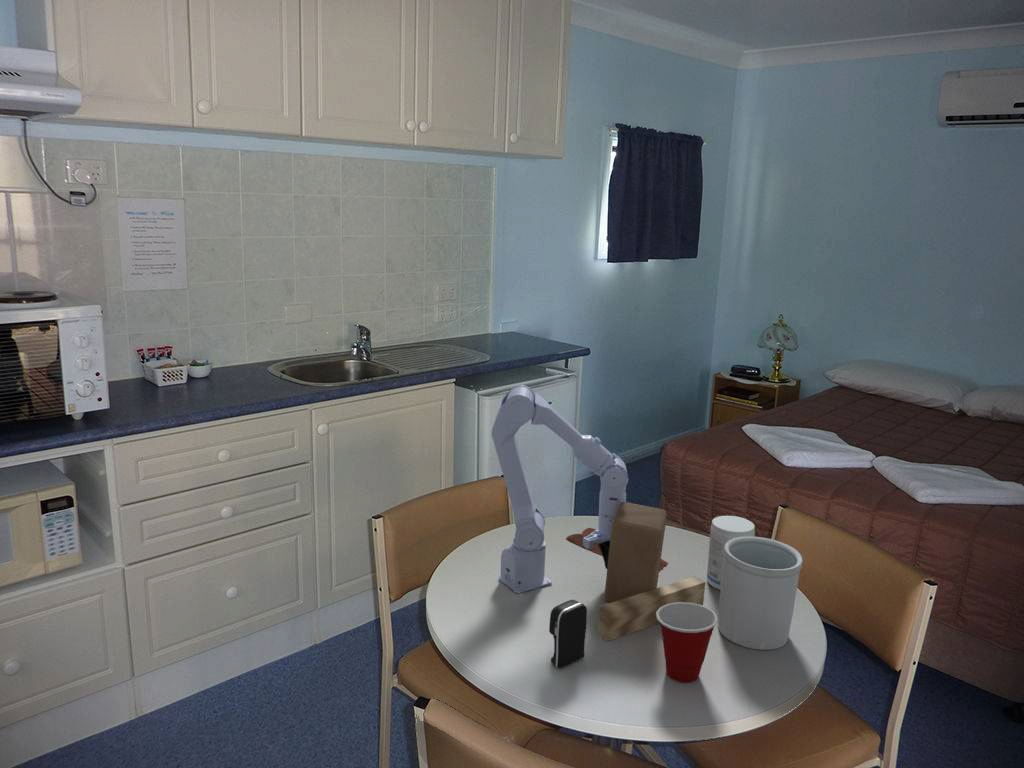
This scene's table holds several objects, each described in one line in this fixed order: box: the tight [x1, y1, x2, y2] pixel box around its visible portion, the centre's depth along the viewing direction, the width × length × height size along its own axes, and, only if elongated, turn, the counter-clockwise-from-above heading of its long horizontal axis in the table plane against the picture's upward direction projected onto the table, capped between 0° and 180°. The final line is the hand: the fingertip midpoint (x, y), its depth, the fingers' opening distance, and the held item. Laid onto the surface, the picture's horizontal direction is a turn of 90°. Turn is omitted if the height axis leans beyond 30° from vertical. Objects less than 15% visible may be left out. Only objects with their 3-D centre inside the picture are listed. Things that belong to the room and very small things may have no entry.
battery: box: [548, 599, 588, 670], centre depth 146 cm, size 7×4×11 cm, turn 131°
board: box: [597, 575, 706, 642], centre depth 161 cm, size 26×3×6 cm, turn 123°
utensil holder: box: [717, 536, 804, 651], centre depth 157 cm, size 15×15×18 cm
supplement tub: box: [706, 515, 756, 591], centre depth 177 cm, size 10×10×15 cm
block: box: [603, 501, 668, 604], centre depth 166 cm, size 10×10×20 cm
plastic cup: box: [656, 602, 718, 684], centre depth 143 cm, size 11×11×12 cm
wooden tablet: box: [566, 527, 669, 573], centre depth 193 cm, size 27×10×2 cm, turn 45°
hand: (609, 569), depth 175 cm, fingers closed, pressing on block
